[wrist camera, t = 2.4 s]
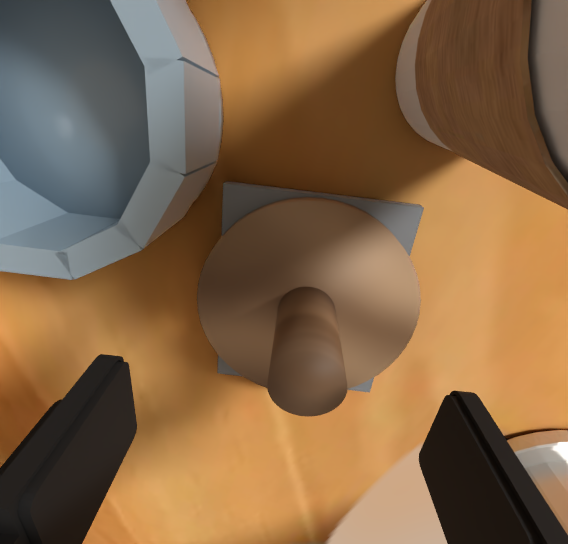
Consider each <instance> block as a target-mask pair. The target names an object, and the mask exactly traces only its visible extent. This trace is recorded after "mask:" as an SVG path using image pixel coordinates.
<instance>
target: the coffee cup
mask: <svg viewBox="0 0 568 544" xmlns="http://www.w3.org/2000/svg"><path fill="white" fill-rule="evenodd" d="M395 80H396V94H397V98H398V102H399V105H400V109H401V111H402V113H403V115H404V117H405V119H406V121H407V122H408V123H409V124H410V126H411V127H412V128H413V129H414V131H415V132H416V133H418V134H419V135H420V136H422V137H423V138H424V139H426V140H427V141H429V142H431V143H434V144H436V145H438V146H441V147H443V148H445V149H448V150H450V151H453V152H454V153H456V154H457V155H459V156H461V157H463V158H465V159H467V160H469V161H471V162H473V163H475V164H477V165H479V166H481V167H483V168H485V169H487V170H489V171H491V172H493V173H495V174H497V175H499V176H501V177H504V178H506V179H508V180H510V181H512V182H514V183H516V184H518V185H520V186H522V187H524V188H526V189H528V190H530V191H532V192H534V193H536V194H538V195H540V196H542V197H544V198H546V199H548V200H550V201H552V202H554V203H556V204H558V205H560V206H562V207H564V208H566V209H568V0H427V1H426V2H425V4H424V5H423V6H422V8H421V9H420V11H419V12H418V14H417V15H416V17H415V18H414V20H413V21H412V23H411V25H410V26H409V29H408V31H407V33H406V35H405V38H404V40H403V42H402V45H401V49H400V52H399V56H398V60H397V67H396V77H395Z"/></svg>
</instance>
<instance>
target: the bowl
mask: <svg viewBox="0 0 568 544" xmlns="http://www.w3.org/2000/svg"><path fill="white" fill-rule="evenodd" d="M223 122H224V121H223V99H222V92H221V85H220V79H219V74H218V72H217V68H216V64H215V60H214V58H213V55H212V52H211V50H210V47H209V44H208V42H207V39H206V37H205V35H204V33H203V31H202V29H201V27H200V25H199V23H198V21H197V19H196V18H195V16H194V14H193V13H192V11H191V10H190V8H189V7H188V5H187V3H186V0H0V271H5V272H13V273H21V274H29V275H37V276H45V277H53V278H61V279H69V280H73V279H77V278H79V277H82V276H84V275H86V274H89V273H91V272H93V271H95V270H98V269H100V268H102V267H105V266H107V265H109V264H111V263H114V262H116V261H118V260H121V259H123V258H125V257H127V256H130V255H132V254H134V253H137V252H139V251H141V250H143V249H144V248H145V247H146V246H148V245H149V244H150V243H152V242H153V241H154V240H155V239H157V238H158V237H159V236H160V235H162V234H163V233H164V232H166V231H167V230H168V229H169V228H171V227H172V226H173V225H174V224H176V223H177V222H178V221H180V220H181V219H182V218H183V217H184V216H185V215H186V213H187V211H188V210H189V208H190V206H191V205H192V203H193V202H194V201H195V200H196V199H197V198H198V197H199V195H200V194H201V192H202V191H203V190H204V188H205V187H206V185H207V183H208V181H209V179H210V177H211V175H212V173H213V170H214V168H215V166H216V164H217V160H218V156H219V151H220V146H221V142H222V133H223Z"/></svg>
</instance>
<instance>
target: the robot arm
mask: <svg viewBox="0 0 568 544" xmlns="http://www.w3.org/2000/svg"><path fill="white" fill-rule="evenodd" d="M136 429H137V422H136V415H135V407H134V400H133V392H132V385H131V377H130V370H129V364H128V362H124V360H123V358H122V357H121V356H112V355H102V354H101V355H99V356H98V357H97V358H96V359H95V360H94V361H93V362H92V364H91V365H90V366H89V367H88V369H87V370H86V371H85V372H84V374H83V375H82V376H81V377H80V378H79V380H78V381H77V382H76V383H75V385H74V386H73V387H72V388H71V390H70V391H69V392H68V393H67V395H66V396H65V397H64V398H63V400H59V401H57V402H55V403H54V404H53V405H52V406H51V407H50V408H49V410H48V411H47V412H46V413H45V414H44V416H43V417H42V418H41V419H40V420H39V422H38V423H37V424H36V425H35V427H34V428H33V429H32V430H31V431H30V433H29V434H28V435H27V436H26V437H25V439H24V440H23V441H22V442H21V443H20V445H19V446H18V447H17V448H16V450H15V451H14V452H13V453H12V454H11V456H10V457H9V458H8V459H7V460H6V462H5V463H4V464H3V465H2V467H1V468H0V544H82V543H83V541H84V539H85V537H86V534H87V532H88V530H89V528H90V526H91V524H92V522H93V520H94V518H95V516H96V514H97V512H98V510H99V508H100V506H101V504H102V502H103V500H104V498H105V496H106V494H107V492H108V490H109V488H110V486H111V484H112V482H113V480H114V478H115V475H116V473H117V471H118V469H119V467H120V465H121V463H122V461H123V459H124V457H125V455H126V453H127V451H128V449H129V447H130V445H131V443H132V441H133V439H134V436H135V433H136ZM419 463H420V467H421V470H422V473H423V476H424V478H425V481H426V484H427V487H428V489H429V492H430V495H431V498H432V501H433V504H434V506H435V509H436V512H437V515H438V518H439V520H440V523H441V526H442V529H443V532H444V534H445V537H446V540H447V543H448V544H568V430H553V431H543V432H535V433H531V434H526V435H521V436H517V437H514V438H511V439H508V440H506V439H505V437H504V436H503V434H502V432H501V431H500V429H499V428H498V426H497V425H496V423H495V422H494V420H493V418H492V417H491V415H490V414H489V412H488V411H487V409H486V408H485V406H484V405H483V403H482V401H481V400H480V398H479V397H478V396H477V395H476V394H475V393H471V392H462V391H452V392H451V393H450V395H447V396H445V398H444V400H443V402H442V404H441V406H440V408H439V411H438V413H437V415H436V417H435V420H434V422H433V424H432V426H431V428H430V431H429V433H428V435H427V437H426V440H425V442H424V444H423V446H422V448H421V451H420V453H419Z"/></svg>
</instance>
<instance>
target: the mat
mask: <svg viewBox="0 0 568 544" xmlns="http://www.w3.org/2000/svg"><path fill="white" fill-rule="evenodd" d="M299 197H318V198H327V199H332V200H337V201H341V202H344V203H347V204H350V205H353V206H355V207H357V208H359V209H361V210H363V211H365V212H367V213H369V214H370V215H371V216H373V217H374V218H376V219H377V220H379V221H380V222H381V223H382V224H383V225H384V226H385V227H387V228H388V229H389V230H390V231H391V232H392V234H393V235H394V236H395V237H396V239H397V240H398V241H399V242H400V244H401V245H402V246H403V247H404V249H405V250H406V252H407V254H408V255H409V256H410V253H411V250H412V246H413V243H414V239H415V236H416V233H417V229H418V226H419V222H420V219H421V216H422V212H423V209H424V208H423V207H422V206H421V205H418V204H409V203H401V202H393V201H385V200H377V199H369V198H360V197H352V196H344V195H336V194H328V193H319V192H311V191H303V190H295V189H287V188H279V187H270V186H262V185H254V184H246V183H238V182H229V181H226V182H224V183H223V206H222V236H223V235H224V233H225V232H226V231H227V230H228V229H229V228H230V227H231V226H232V225H233V224H234V223H235V222H237V221H238V220H239V219H241V218H242V217H244V216H245V215H247V214H248V213H250V212H252V211H254V210H256V209H258V208H259V207H261V206H264V205H267V204H270V203H273V202H275V201H280V200H285V199H289V198H299ZM218 373H221V374H228V375H236V376H242V375H240V374H239V373H237V372H236V371H235V370H234V369H232V368H231V367H230V366H229V365H228V364H226V363H225V361H224V360H223V359H222V358H221V357H220V356H219V355H218ZM373 379H374V377H373V378H372V379H370V380H368V381H366V382H364V383H362V384H360V385H358V386H355V387H352V388H349V389H347V390H355V391H363V392H370V389H371V386H372V382H373Z"/></svg>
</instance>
